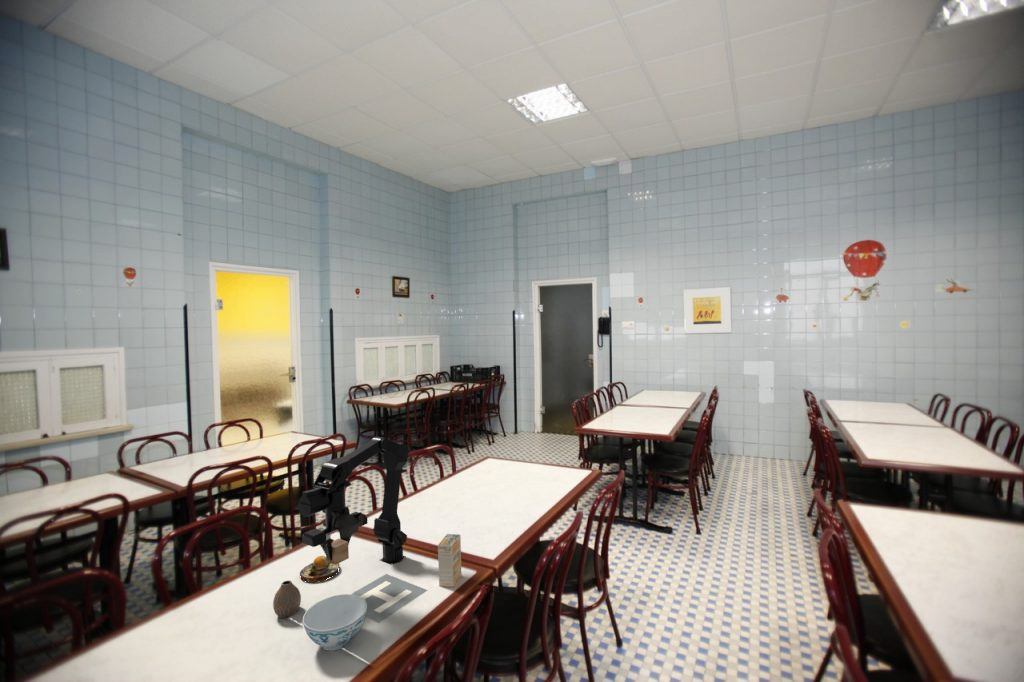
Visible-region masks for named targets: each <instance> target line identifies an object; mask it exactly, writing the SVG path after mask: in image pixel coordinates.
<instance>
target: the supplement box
mask: <svg viewBox="0 0 1024 682" xmlns="http://www.w3.org/2000/svg"><path fill="white" fill-rule="evenodd" d="M461 543H462V542H461V534H457V533H456V534H455V533H454V534H453V533H447V534H446V535H445V536H444V537H443V539H442V540H441V541H440V542H439V544H438V545H437V553H438V554H437V557H438V558H437V559H438V561H437V562H438V587H442V588H443V587H444V588H454V587H455V585H456V583H457V582H458V580H459V579H460V577H462V552H461V551H462V546H461V545H462V544H461Z"/></svg>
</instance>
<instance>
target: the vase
mask: <svg viewBox="0 0 1024 682" xmlns="http://www.w3.org/2000/svg"><path fill="white" fill-rule="evenodd" d="M301 595H302V594H301V592H300V589H299V588H298V587H297V586H296V585H295V584H293V582H292V580H284V581H282V582H281V584H280V587H279V588H278V590H277V591H276V592H275V594H274V597H273V601H272V607H273V611H274V613H275V614H276V616H277V617H279V618H281V619H288V618H290V616H293V615H294V614H296V613H297V612H298V610H299V609H300V607H301V606H300V605H301V604H302V603H301V601H302V596H301Z"/></svg>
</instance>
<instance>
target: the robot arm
mask: <svg viewBox="0 0 1024 682" xmlns="http://www.w3.org/2000/svg"><path fill="white" fill-rule="evenodd" d="M379 453H381V454H382V458H383V459H382V460H383V463H384V466H385V468H386V473H385V480H384V481H385V483H384V489H383V491H384V492H383V497H382V498H383V500H382V509H381V513H380V514H379V516H378V517H376V518H374V521H373V522H374V523H373V524H374V526H373V529H372V532H374V533H373V535H374V537H375V538H376V539H377V541H378V543H382V557H381V558H380V559H379V561H380V562H383V563H385V564H388V565H391V566H393V565H395V564H397V563H400V562H402V560H404V559H406V558H407V556H405V555H404V547H403V546H404V544H405V543H406V542H407V540H408V535H407V534H406V533H404V532H403V530H401V527H402V525H401V520H400V518H399V515H398V506H399V497H400V490H401V489H400V488H401V487H400V486H401V478H402V470H403V468H404V467H405V465H406V464H407V462H408V458H409V455H410V449H409V447H408V445H407V444H406V443H404V442H402V443H401V442H396V441H392V440H389V439H387V438H386V437H381V436H374V437H373V438H371V440H369V441H367V442H366V443H364V444H363V445H361V446H359V447H357V448H356V449H354V450H353V451H351V452H350V453H348V454H347V455H344V456H342V457H338V458H334V459H330V460H328V461H326V462H324V463H323V464H322V465H321V468H320V471H319V473H318V475H317V477H316V479H315V481H314V482H313V484H312V489H308V490H305V491H302V492H301V493H302V496H301V497H300V498H299V499H298V502H297V508H298V512H299V513H300V515H301V516H302V517H304V518H308V517H310V516H312V515H315V514H318V513H320V512H322V513H324V516H325V517H324V518H325V521H324V522H322V526H323V527H325V528H323V529H322V530H320V529H319V528H318V529H317V528H313V529H310V530H308V531H305V532H304V533H303V534H302V536H301V539H302V541H301V543H302V544H305V545H307V546H310V547H312V548H315V547H318V546H320V547H321V549H322V551H323V552H324V554H325V557H326V556H327V558H328V560H330V561H331V560H332V542H333V541H334V540H335V539H333V538H331V535H332V534H334V533H336V532H339V539H342V540H345V541H347V542H348V546H349V545H350V542H351V538H352V537H353V535H354V534H357V533H358V532H359V528H360V527H363V526H365V525H368V524H369V523H368V522H369V521H368V516H367V515H366V514H365V513H363V512H358V511H354V512H353V513H350V508H349V506H346V488H349V487H351V486H352V483H351V482H349V481H348V480H347V479H348V478H349V477H351V475H352V474H353V472H354V470H355V469H356V468H357V467H359V466H360V465H362V464H363V463H365V462H367V461H368V460H370V459H371V458H372V457H374V456H376V455H377V454H379ZM328 482H329V483H328Z"/></svg>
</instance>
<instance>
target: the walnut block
mask: <svg viewBox="0 0 1024 682" xmlns="http://www.w3.org/2000/svg"><path fill="white" fill-rule="evenodd" d="M333 540H334V541H333V542H332V560H331V561H330V560H328V558H327V556H326V555H325V557H326V561H328V562H330V563H332V564H335V565H336V564H338V563H339V564H340V563H342V562H345V561H346V560H349V558H350V556H349V555H350V553H349V545H348V542H347V541H345V540H342V539H340V537H339V538H337V539H333Z"/></svg>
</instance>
